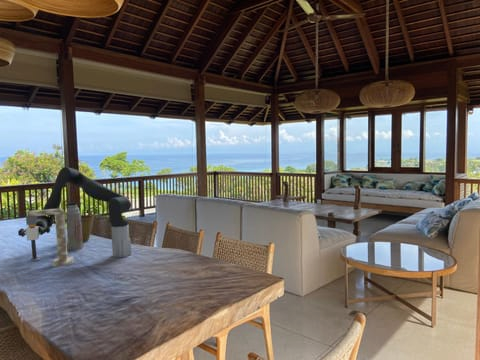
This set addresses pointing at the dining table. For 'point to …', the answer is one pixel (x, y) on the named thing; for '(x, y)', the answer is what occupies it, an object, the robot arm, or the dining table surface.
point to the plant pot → (86, 226)
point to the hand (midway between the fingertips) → (31, 234)
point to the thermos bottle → (74, 227)
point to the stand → (57, 234)
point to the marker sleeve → (32, 233)
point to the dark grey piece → (32, 222)
